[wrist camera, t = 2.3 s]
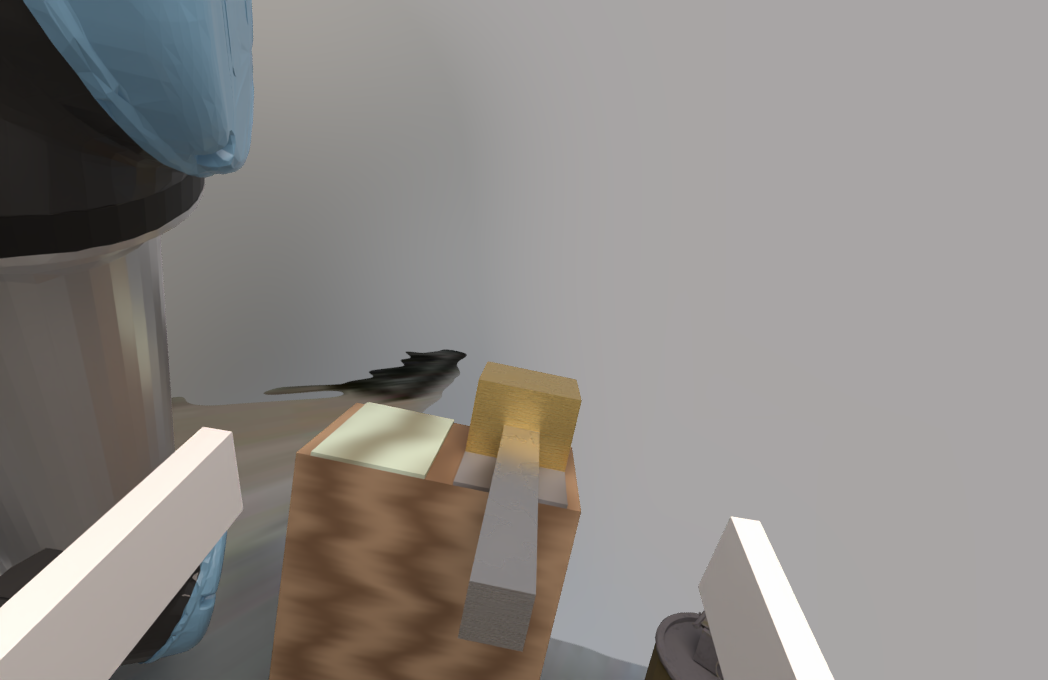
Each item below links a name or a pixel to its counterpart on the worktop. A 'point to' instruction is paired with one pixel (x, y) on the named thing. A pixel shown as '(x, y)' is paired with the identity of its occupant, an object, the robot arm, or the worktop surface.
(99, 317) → the robot arm
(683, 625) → the canister
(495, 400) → the handle bar
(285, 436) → the worktop surface
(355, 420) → the wood grain box
